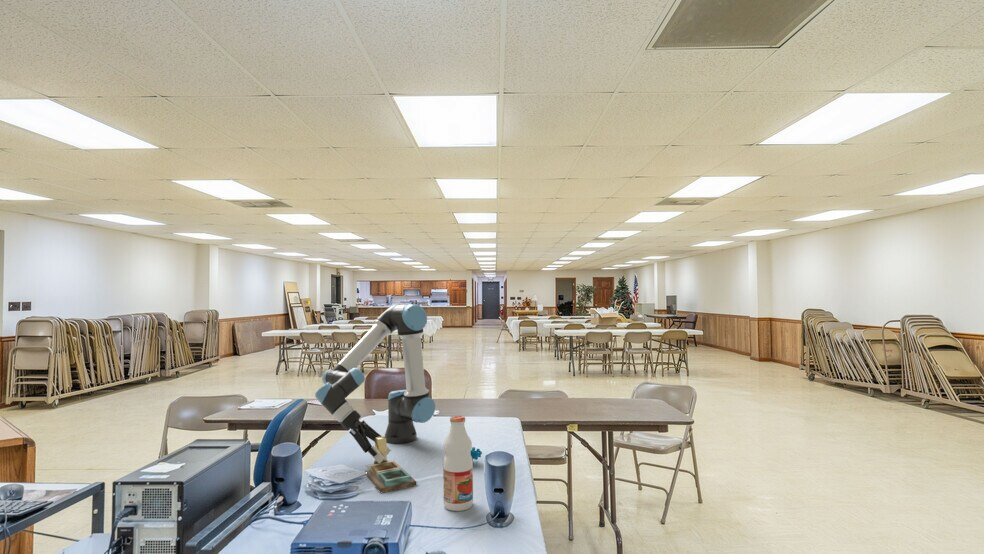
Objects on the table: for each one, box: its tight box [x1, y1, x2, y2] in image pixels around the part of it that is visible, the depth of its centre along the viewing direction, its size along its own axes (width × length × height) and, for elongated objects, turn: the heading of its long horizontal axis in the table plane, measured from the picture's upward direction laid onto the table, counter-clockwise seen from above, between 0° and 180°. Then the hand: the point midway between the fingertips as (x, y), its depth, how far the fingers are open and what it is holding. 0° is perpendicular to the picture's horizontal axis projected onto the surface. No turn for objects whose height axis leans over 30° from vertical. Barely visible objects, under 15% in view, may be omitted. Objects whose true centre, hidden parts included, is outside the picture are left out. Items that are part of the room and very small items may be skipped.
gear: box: [471, 446, 483, 462], centre depth 191 cm, size 11×6×10 cm
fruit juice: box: [442, 415, 474, 512], centre depth 153 cm, size 9×9×28 cm
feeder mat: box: [364, 460, 390, 470], centre depth 189 cm, size 10×9×1 cm
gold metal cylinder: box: [373, 435, 388, 464], centre depth 189 cm, size 5×5×11 cm
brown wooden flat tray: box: [364, 460, 417, 494], centre depth 175 cm, size 13×20×4 cm, turn 30°
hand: (385, 456), depth 188 cm, fingers open, 10 cm apart
